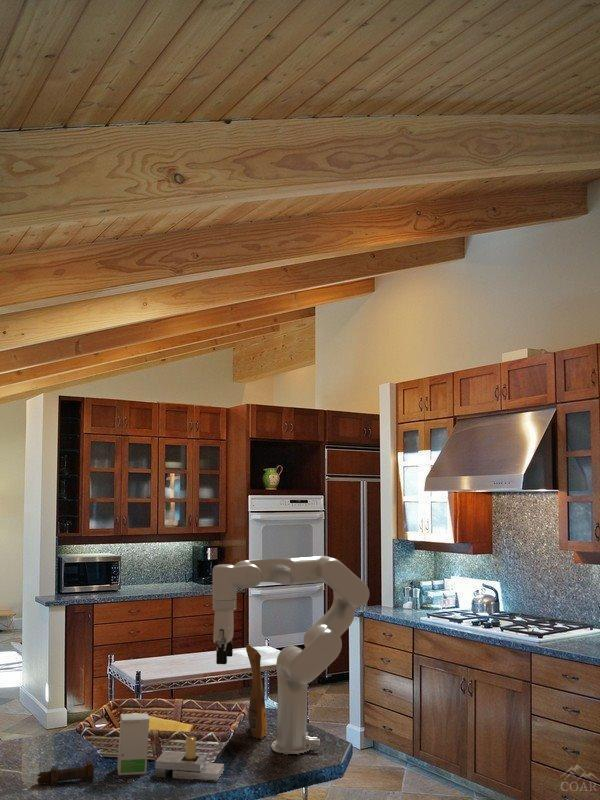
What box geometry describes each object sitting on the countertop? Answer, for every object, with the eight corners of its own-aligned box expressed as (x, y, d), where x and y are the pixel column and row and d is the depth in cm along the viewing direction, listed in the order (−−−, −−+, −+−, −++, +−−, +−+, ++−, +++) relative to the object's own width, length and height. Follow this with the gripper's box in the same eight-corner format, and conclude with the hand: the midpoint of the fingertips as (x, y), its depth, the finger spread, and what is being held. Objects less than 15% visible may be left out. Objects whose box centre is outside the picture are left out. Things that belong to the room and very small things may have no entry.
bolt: (37, 791, 224) (92, 784, 229) (37, 788, 220) (94, 780, 225) (37, 769, 227) (92, 762, 232) (37, 765, 223) (93, 758, 228)
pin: (196, 772, 236) (197, 736, 237) (193, 776, 233) (194, 740, 234) (186, 771, 236) (187, 736, 237) (183, 775, 233) (184, 739, 234)
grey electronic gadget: (223, 771, 237) (224, 755, 237) (217, 781, 229) (218, 765, 230) (163, 766, 239) (163, 751, 240) (154, 776, 232) (155, 761, 232)
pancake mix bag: (248, 741, 263) (251, 653, 266) (243, 723, 282) (245, 641, 285) (268, 740, 264) (271, 653, 267) (262, 722, 283) (264, 641, 286)
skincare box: (118, 776, 231) (120, 720, 233) (116, 767, 238) (119, 713, 239) (147, 774, 233) (149, 718, 235) (145, 765, 240) (147, 711, 241)
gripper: (218, 599, 263) (218, 653, 261) (207, 609, 246) (207, 667, 244) (240, 599, 262) (241, 653, 261) (231, 609, 245) (231, 667, 244)
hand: (224, 660), depth 253 cm, fingers open, 9 cm apart
